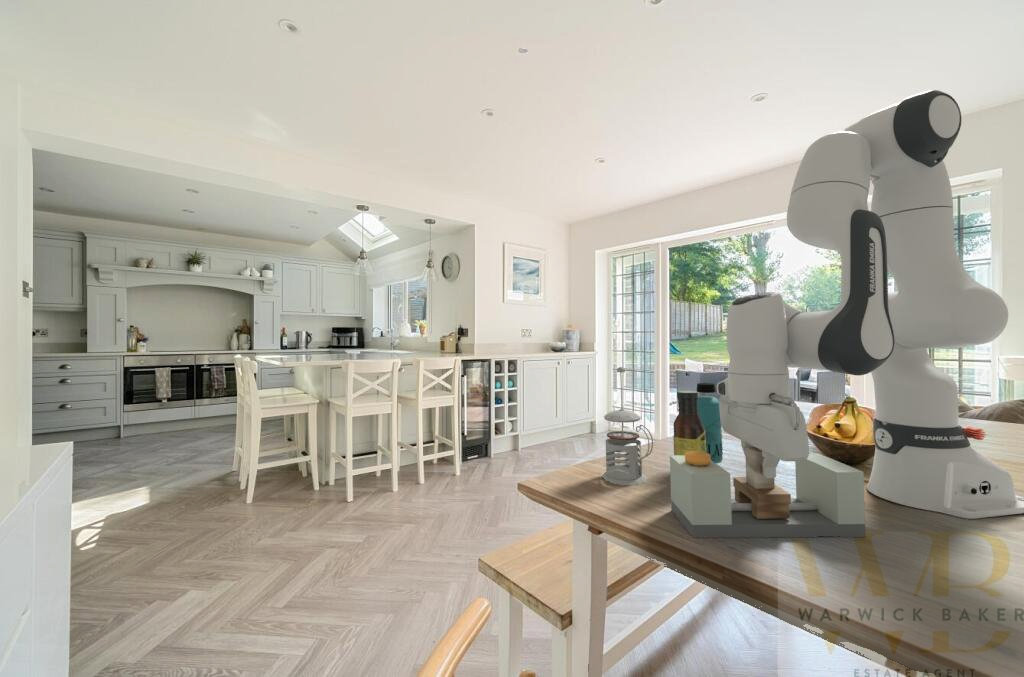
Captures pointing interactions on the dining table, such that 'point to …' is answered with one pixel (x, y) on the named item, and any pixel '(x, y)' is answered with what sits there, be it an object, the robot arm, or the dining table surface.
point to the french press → (624, 449)
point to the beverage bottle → (710, 421)
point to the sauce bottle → (688, 425)
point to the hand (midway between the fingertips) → (760, 472)
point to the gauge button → (697, 458)
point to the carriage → (760, 489)
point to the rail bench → (814, 512)
